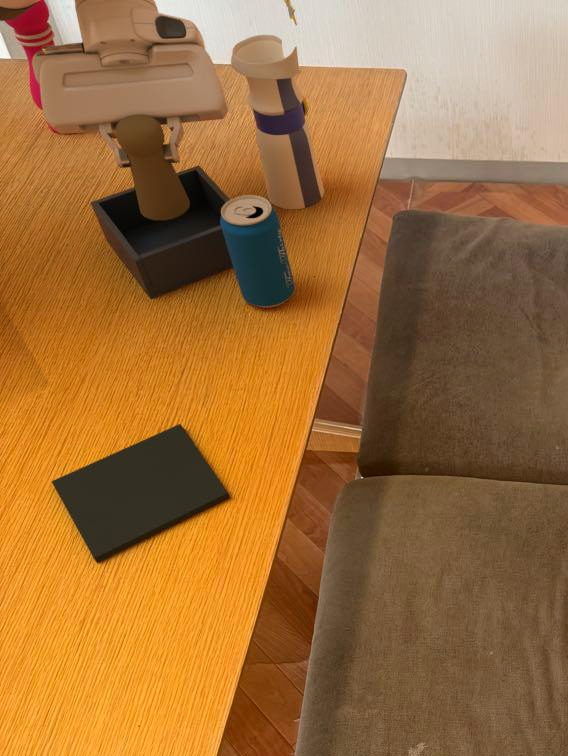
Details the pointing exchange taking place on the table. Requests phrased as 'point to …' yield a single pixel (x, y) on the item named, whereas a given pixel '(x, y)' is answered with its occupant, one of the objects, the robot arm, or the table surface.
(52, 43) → the pepper mill
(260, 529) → the table surface
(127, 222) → the bin
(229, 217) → the beverage can
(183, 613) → the table surface
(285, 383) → the table surface
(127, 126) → the brown pawn
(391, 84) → the table surface
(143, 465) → the mat
